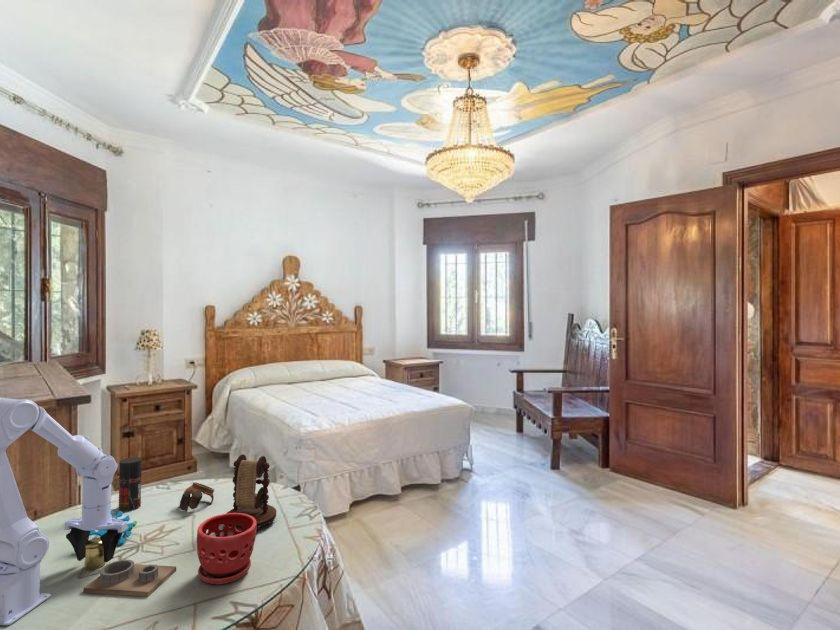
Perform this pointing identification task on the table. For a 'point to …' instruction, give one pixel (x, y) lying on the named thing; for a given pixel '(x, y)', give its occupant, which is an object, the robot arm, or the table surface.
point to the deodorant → (130, 484)
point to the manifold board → (129, 578)
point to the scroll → (252, 491)
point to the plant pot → (225, 547)
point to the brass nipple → (94, 554)
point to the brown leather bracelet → (194, 496)
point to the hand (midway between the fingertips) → (95, 559)
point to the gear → (126, 532)
